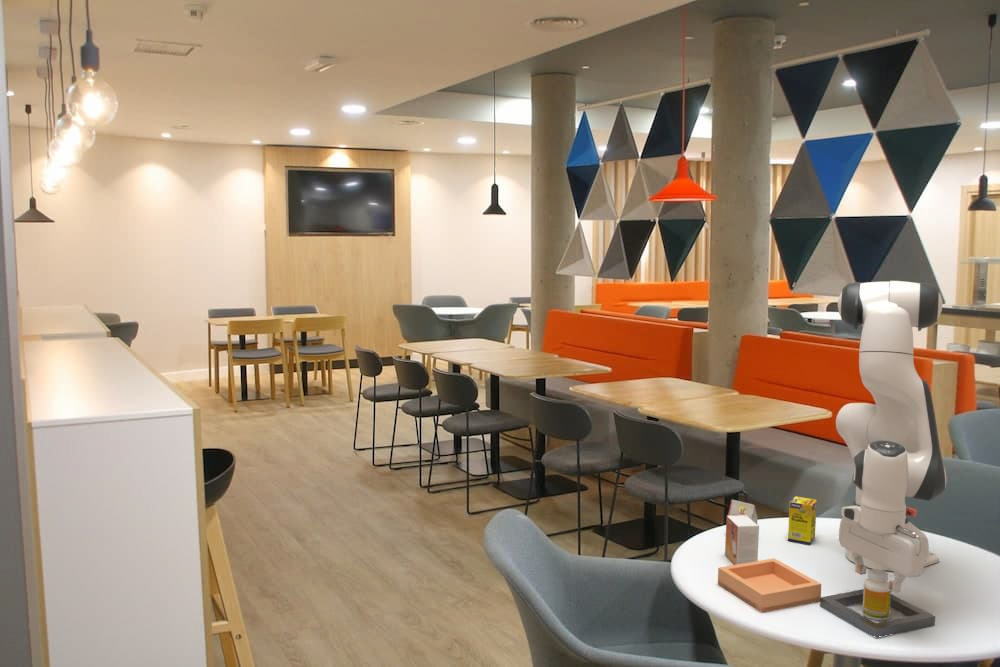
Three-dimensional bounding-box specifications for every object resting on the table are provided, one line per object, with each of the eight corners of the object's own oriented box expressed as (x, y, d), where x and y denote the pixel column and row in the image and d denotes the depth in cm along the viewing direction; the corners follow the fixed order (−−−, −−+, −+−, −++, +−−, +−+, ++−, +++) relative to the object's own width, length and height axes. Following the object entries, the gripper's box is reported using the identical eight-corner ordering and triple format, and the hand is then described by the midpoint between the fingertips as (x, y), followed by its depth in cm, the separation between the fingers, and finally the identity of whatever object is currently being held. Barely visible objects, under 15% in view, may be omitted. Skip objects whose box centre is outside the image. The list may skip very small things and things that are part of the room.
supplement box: (810, 545, 222) (812, 505, 221) (787, 541, 225) (789, 501, 224) (815, 538, 227) (817, 499, 226) (792, 534, 230) (794, 495, 229)
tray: (773, 574, 203) (774, 558, 203) (820, 601, 189) (821, 583, 188) (717, 584, 198) (718, 567, 197) (761, 612, 183) (762, 594, 182)
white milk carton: (734, 533, 231) (735, 498, 230) (756, 539, 226) (758, 503, 225) (727, 536, 229) (728, 501, 227) (749, 543, 224) (751, 506, 223)
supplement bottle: (892, 622, 178) (894, 578, 177) (865, 620, 179) (867, 576, 178) (886, 611, 183) (888, 568, 182) (859, 609, 185) (862, 566, 183)
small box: (724, 555, 216) (725, 515, 214) (745, 554, 216) (747, 514, 215) (735, 567, 208) (737, 526, 206) (757, 566, 208) (759, 525, 207)
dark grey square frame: (876, 595, 192) (876, 586, 191) (934, 625, 177) (935, 616, 177) (819, 606, 186) (820, 597, 186) (875, 638, 171) (876, 629, 171)
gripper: (934, 533, 170) (928, 599, 171) (858, 503, 189) (853, 563, 190) (910, 536, 168) (904, 603, 169) (835, 505, 187) (831, 566, 188)
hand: (877, 581), depth 180 cm, fingers open, 8 cm apart
